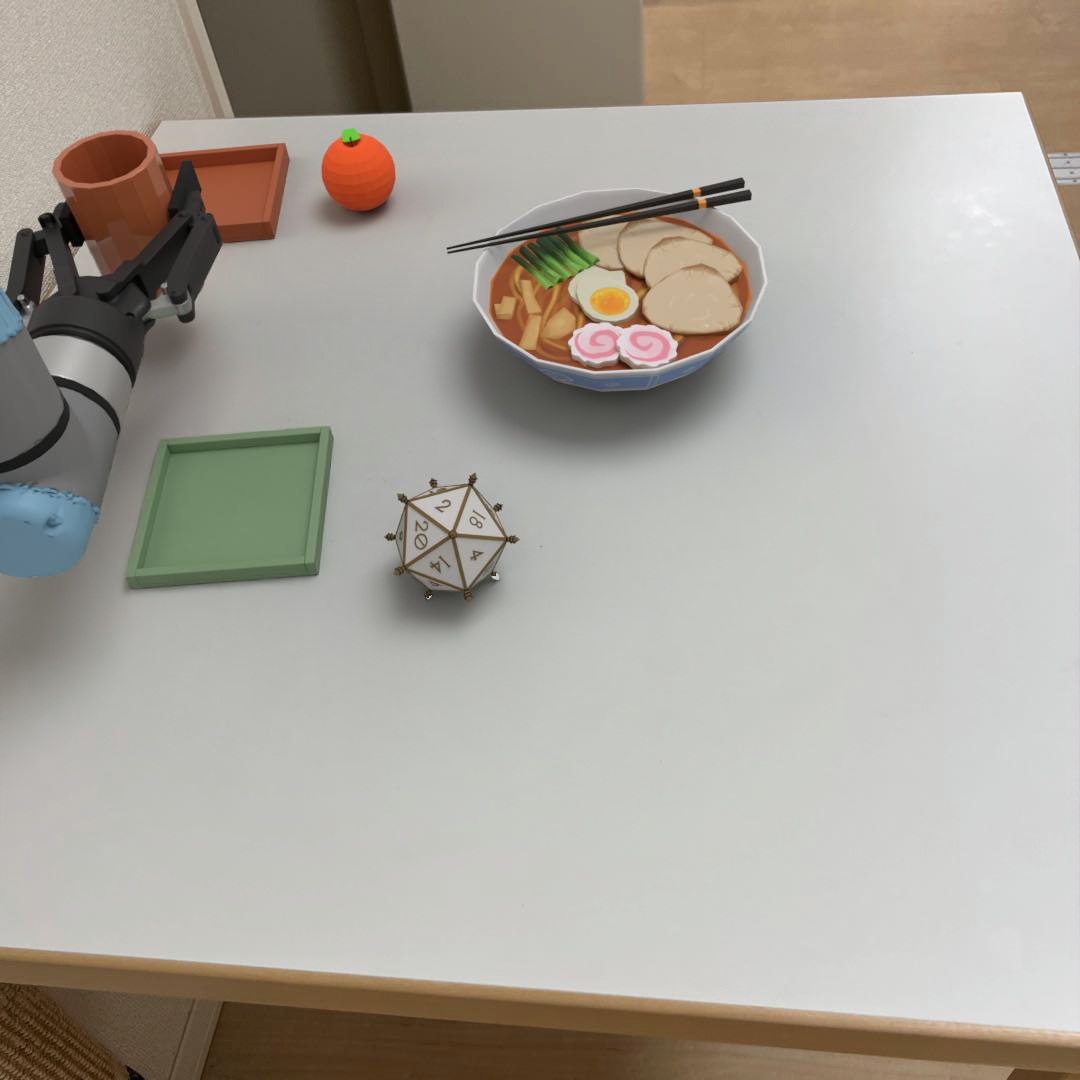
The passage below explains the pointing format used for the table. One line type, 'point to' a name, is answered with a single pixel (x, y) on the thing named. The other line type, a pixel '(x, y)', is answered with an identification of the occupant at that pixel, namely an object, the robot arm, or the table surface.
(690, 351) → the ramen bowl
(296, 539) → the sage tray
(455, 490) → the game die
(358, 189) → the clementine
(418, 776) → the table surface
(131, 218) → the terracotta cup
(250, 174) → the terracotta tray
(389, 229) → the table surface
